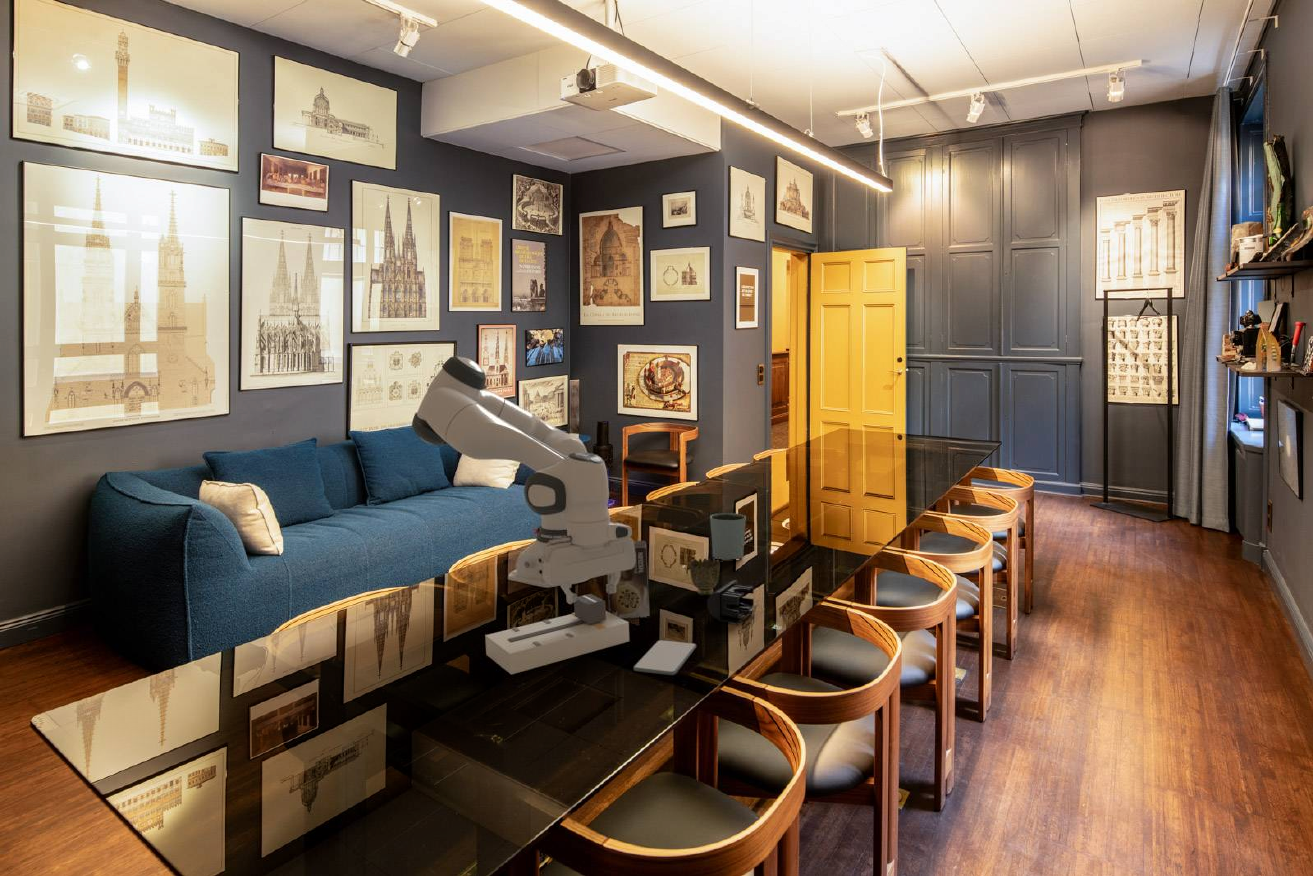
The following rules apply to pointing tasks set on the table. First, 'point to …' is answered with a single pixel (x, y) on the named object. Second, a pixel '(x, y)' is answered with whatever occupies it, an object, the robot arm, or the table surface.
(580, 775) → the table surface
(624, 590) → the coffee box
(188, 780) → the table surface
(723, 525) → the blue plant pot
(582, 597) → the fader knob
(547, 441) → the robot arm
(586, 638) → the fader console
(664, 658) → the smartphone
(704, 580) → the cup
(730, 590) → the end cap
